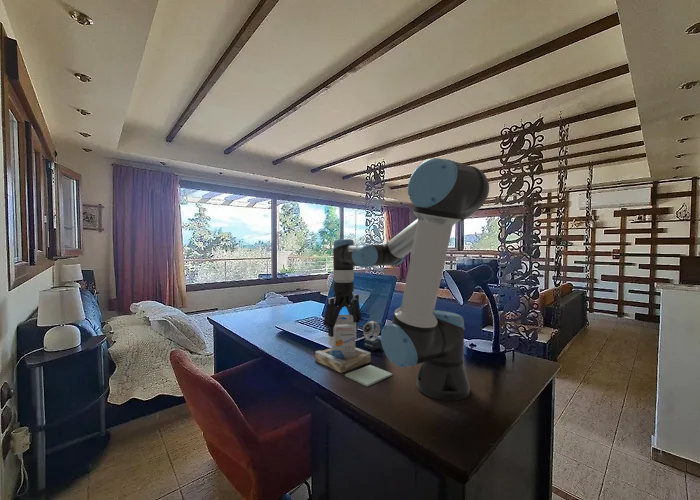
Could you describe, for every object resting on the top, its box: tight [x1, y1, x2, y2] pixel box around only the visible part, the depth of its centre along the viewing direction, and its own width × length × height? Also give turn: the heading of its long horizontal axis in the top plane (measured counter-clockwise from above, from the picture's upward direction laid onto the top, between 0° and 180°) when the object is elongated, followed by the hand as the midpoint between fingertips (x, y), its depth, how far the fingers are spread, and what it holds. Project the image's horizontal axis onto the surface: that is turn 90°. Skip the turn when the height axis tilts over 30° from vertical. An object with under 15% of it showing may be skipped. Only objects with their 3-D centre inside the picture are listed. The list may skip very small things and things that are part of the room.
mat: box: [344, 364, 393, 388], centre depth 99 cm, size 10×12×1 cm
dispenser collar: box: [314, 346, 372, 374], centre depth 111 cm, size 14×14×3 cm
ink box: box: [331, 314, 356, 359], centre depth 111 cm, size 8×5×15 cm, turn 98°
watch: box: [362, 320, 381, 351], centre depth 127 cm, size 6×8×11 cm
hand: (343, 342), depth 111 cm, fingers closed on ink box, 9 cm apart
